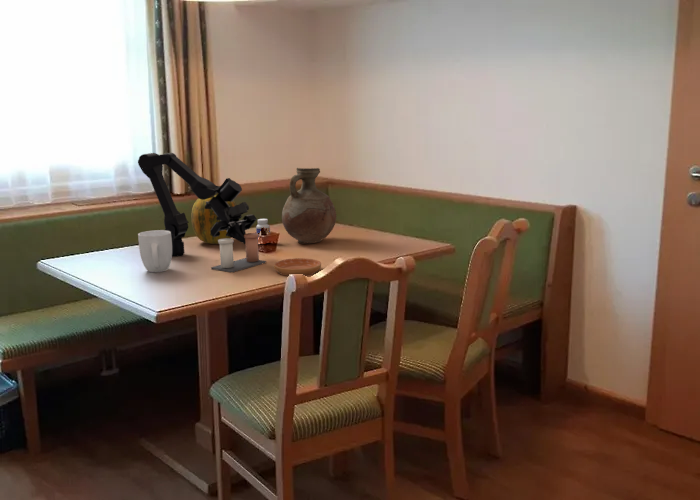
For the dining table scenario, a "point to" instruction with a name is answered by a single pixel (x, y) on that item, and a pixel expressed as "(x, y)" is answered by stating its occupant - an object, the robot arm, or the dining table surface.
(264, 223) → the pill bottle
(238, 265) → the mat
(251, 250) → the pink lidded jar
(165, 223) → the robot arm
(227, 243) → the white lidded cylinder
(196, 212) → the pumpkin
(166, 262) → the mug
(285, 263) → the saucer
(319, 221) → the jug
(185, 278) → the dining table surface
